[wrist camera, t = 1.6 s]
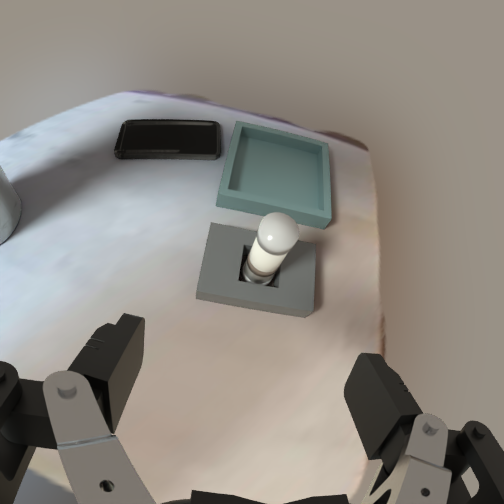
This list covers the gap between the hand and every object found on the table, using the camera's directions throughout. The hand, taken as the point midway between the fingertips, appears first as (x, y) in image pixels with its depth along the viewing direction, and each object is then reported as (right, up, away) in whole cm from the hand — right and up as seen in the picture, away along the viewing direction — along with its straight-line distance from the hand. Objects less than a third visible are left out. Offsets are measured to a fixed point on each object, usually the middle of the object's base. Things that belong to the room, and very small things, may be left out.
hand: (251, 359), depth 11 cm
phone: (-12, +20, +31) cm, 39 cm away
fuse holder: (0, +1, +24) cm, 24 cm away
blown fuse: (0, +1, +24) cm, 24 cm away
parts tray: (+3, +14, +31) cm, 34 cm away
